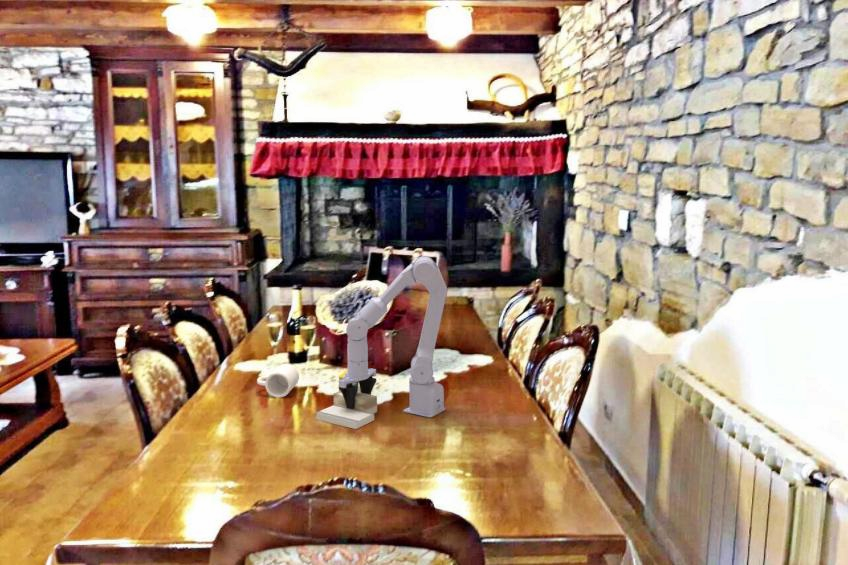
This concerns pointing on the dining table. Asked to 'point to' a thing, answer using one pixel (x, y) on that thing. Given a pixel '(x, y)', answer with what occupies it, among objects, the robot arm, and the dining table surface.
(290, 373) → the mug
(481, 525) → the dining table surface
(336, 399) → the thick cream slab
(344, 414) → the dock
